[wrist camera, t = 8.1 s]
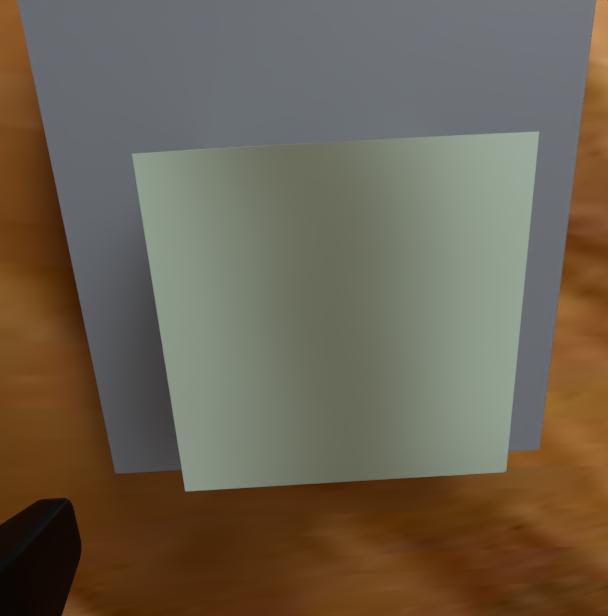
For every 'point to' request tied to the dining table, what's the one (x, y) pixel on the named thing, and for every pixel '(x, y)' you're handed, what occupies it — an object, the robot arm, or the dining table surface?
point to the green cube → (340, 305)
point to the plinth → (287, 141)
